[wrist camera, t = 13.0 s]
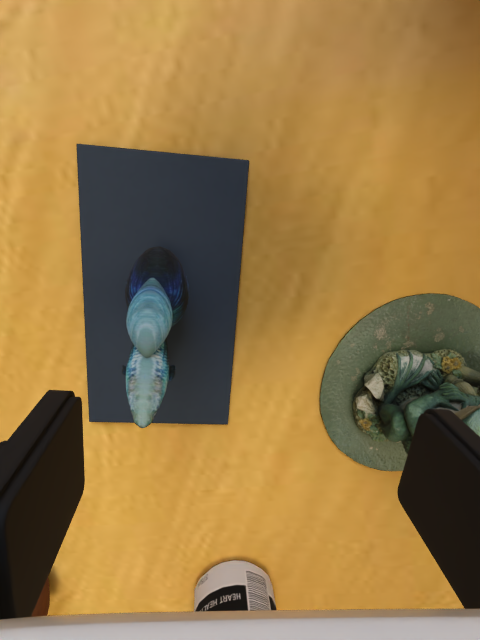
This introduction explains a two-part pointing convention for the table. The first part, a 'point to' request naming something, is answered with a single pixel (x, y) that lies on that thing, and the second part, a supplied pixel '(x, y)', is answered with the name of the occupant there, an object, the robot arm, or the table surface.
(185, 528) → the table surface
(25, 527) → the robot arm
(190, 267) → the mat
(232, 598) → the supplement can
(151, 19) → the table surface
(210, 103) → the table surface
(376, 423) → the frog figurine
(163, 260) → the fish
